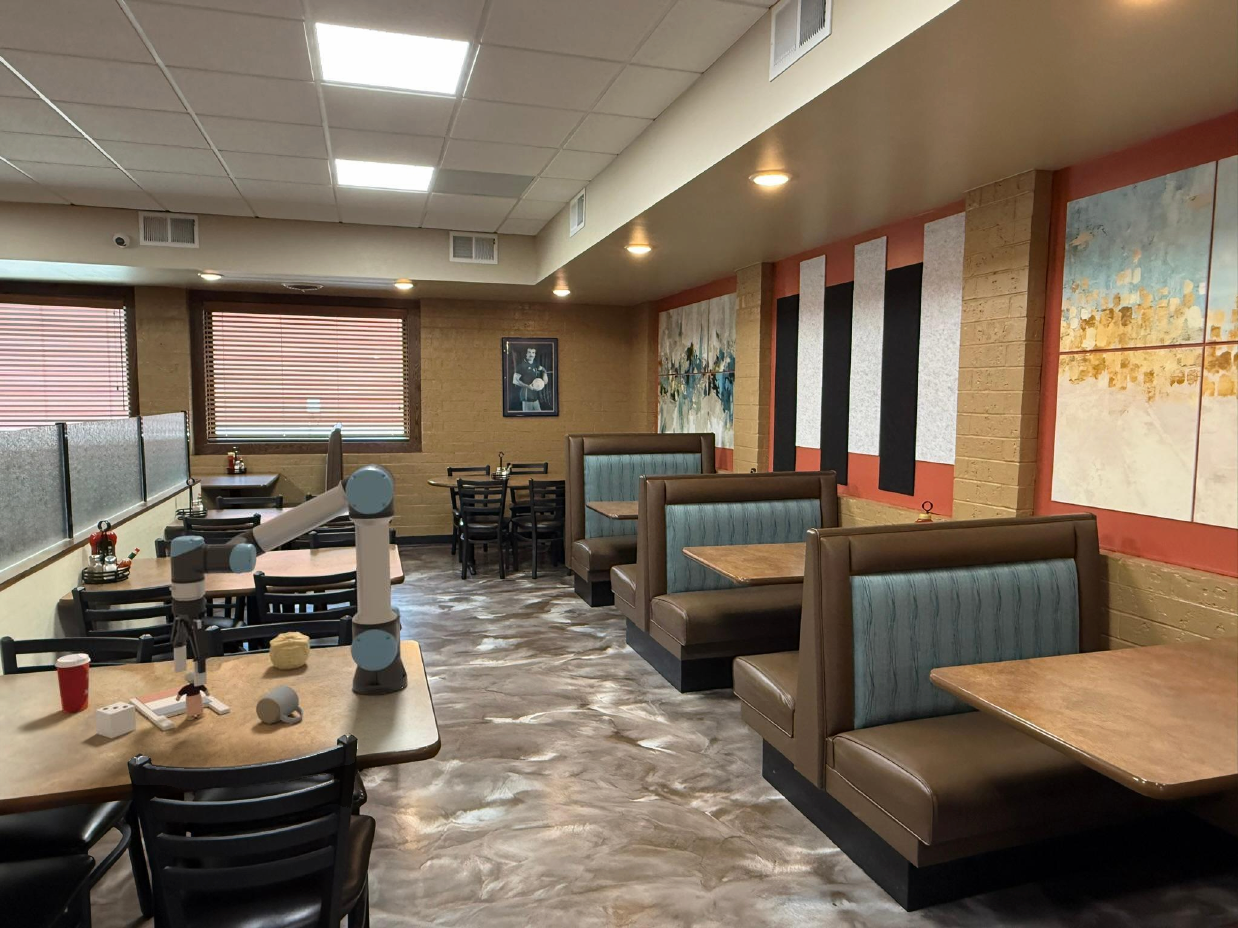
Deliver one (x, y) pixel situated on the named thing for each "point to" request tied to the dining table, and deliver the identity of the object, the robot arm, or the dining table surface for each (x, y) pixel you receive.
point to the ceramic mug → (279, 706)
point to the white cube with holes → (115, 719)
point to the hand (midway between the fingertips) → (190, 678)
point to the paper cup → (73, 682)
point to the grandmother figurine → (193, 697)
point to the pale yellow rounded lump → (289, 650)
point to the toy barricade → (171, 706)
